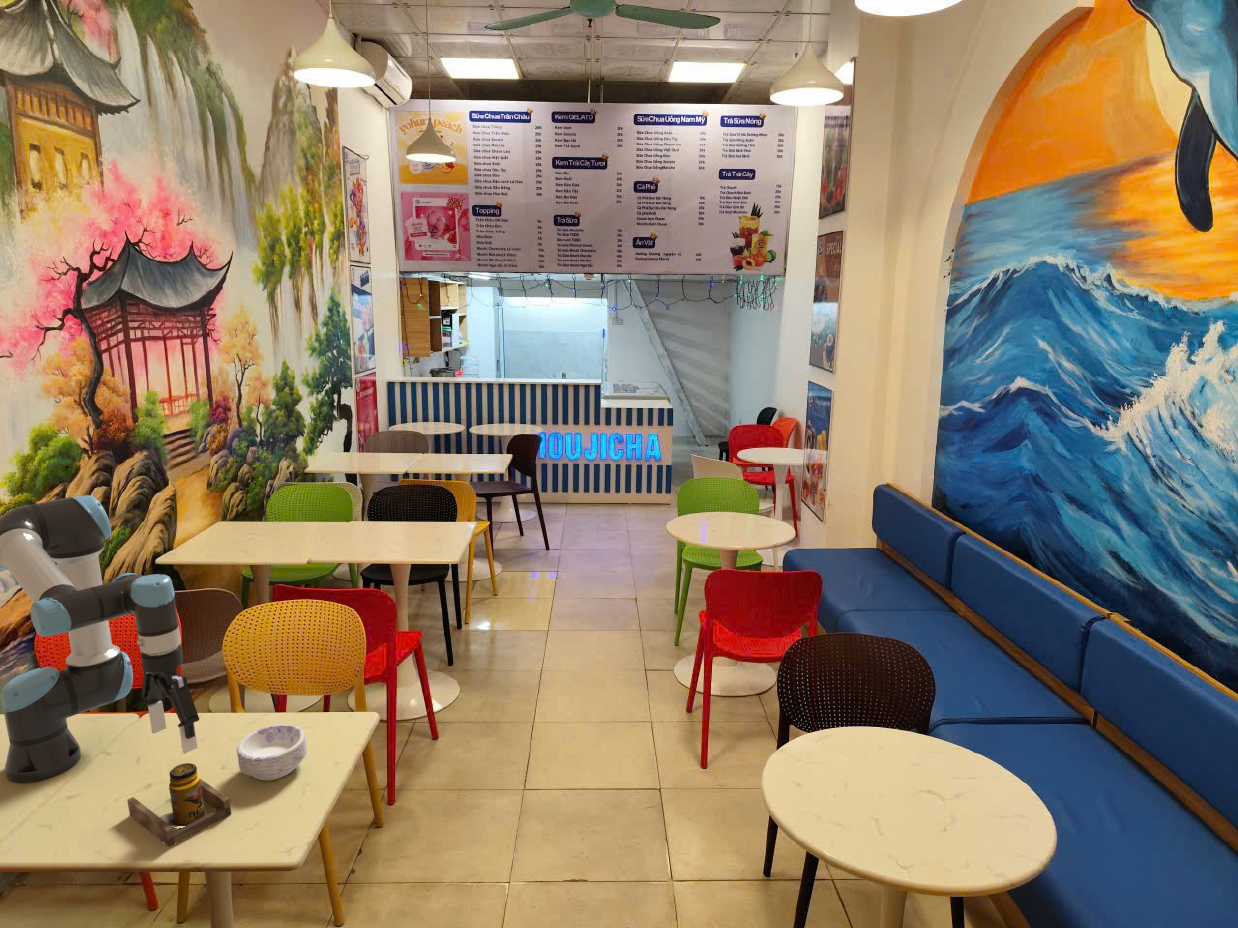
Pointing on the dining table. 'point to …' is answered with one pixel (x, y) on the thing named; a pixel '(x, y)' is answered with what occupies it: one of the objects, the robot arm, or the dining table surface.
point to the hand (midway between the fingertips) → (174, 740)
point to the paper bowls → (272, 751)
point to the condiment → (185, 796)
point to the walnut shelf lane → (170, 838)
